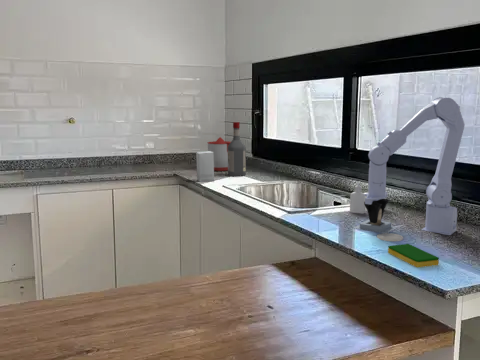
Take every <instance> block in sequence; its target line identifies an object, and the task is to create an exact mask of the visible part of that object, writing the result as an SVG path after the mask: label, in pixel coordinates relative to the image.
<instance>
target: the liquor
mask: <svg viewBox="0 0 480 360" xmlns="http://www.w3.org/2000/svg"><path fill="white" fill-rule="evenodd" d="M232 129H233V137H232V140H231V141H230V142H231V143H230V144H229V145H228V170H227V175H228V176H230V177H233V178H235V177H237V178H239V177H245V176H246V175H247V174H246V173H247V171H246V169H247V166H246V164H247V163H246V162H247V161H246V160H247V159H246V152H247V151H246V145H245V144H244V143H243V141H242V140H241V139H240V121H233V122H232Z"/></svg>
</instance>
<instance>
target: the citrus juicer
mask: <svg viewBox="0 0 480 360" xmlns="http://www.w3.org/2000/svg"><path fill="white" fill-rule="evenodd" d="M230 143H231V141H230V140H229V141H228V140H224V139H223V138H222V137H221V136H220V137H218V138H217V139H216V141H214V140H213V141H208V142H207V151H211V152H213V159H214V172H215V171H217V172H218V171H219V172H224V171H228V145H229V144H230Z"/></svg>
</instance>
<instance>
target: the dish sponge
mask: <svg viewBox="0 0 480 360" xmlns="http://www.w3.org/2000/svg"><path fill="white" fill-rule="evenodd" d="M387 253H388V254H390V255H392V256H393V257H396V258H398V259H400V260H402V261H403V262H405V263H407V264H409V265H411V266H413V267H414V268H423V267H424V268H425V266H426V267H431V266H432V265H433V266H438V264H440V263H439V261H440V257H439V256H437V255H434V254H432V253H429V252H427V251H425V250H424V249H423V250H422V249H421V248H419V247H416V246H415V245H412V244H409V243H402V244H395V245H394V244H393V245H388V246H387ZM433 266H432V267H433Z"/></svg>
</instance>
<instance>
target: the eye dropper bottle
mask: <svg viewBox="0 0 480 360" xmlns="http://www.w3.org/2000/svg"><path fill="white" fill-rule="evenodd" d="M364 193H365V192H362V186H361V184H360V182H356V185H355V186H354V191H353V192H351V193H350V197H349V213H353V214H365V213H366V211H365V205H364V202H365V194H364Z"/></svg>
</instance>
